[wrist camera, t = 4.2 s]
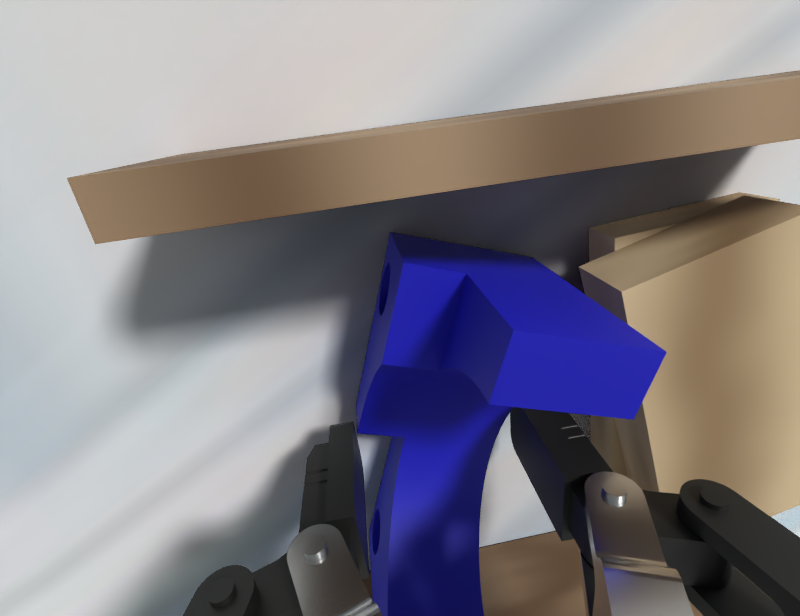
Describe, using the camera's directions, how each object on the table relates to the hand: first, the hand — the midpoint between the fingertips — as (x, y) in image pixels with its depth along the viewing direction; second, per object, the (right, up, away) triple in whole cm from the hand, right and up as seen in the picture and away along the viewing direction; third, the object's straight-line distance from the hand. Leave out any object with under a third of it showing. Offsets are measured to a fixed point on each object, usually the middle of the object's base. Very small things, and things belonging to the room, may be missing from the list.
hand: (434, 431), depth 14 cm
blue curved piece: (0, 0, +1) cm, 2 cm away
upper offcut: (+8, +2, +1) cm, 9 cm away
